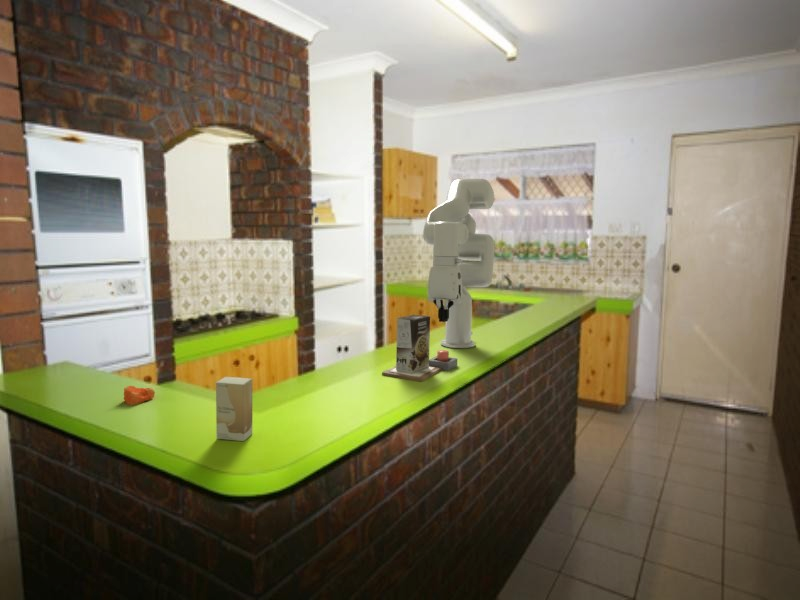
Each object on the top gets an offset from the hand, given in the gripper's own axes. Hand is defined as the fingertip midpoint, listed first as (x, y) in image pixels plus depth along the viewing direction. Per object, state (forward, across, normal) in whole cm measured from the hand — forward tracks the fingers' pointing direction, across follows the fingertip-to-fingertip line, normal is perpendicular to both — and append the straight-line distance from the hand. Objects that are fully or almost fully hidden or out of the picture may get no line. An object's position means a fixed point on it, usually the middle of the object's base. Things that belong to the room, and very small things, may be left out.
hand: (443, 321), depth 163 cm
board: (+15, +5, +10) cm, 19 cm away
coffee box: (+14, +5, +10) cm, 18 cm away
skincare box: (+17, +14, +72) cm, 75 cm away
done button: (+13, 0, -1) cm, 13 cm away
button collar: (+15, 0, -1) cm, 15 cm away
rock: (+17, +52, +68) cm, 87 cm away
